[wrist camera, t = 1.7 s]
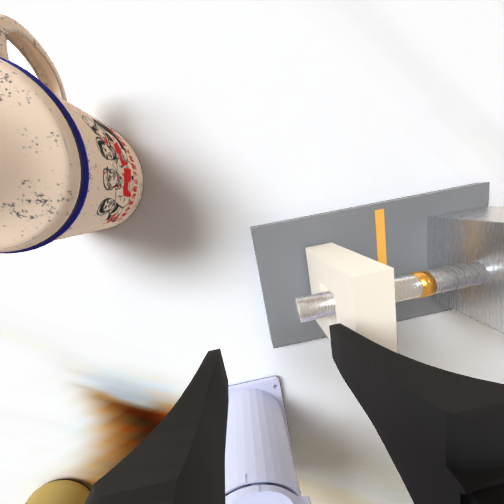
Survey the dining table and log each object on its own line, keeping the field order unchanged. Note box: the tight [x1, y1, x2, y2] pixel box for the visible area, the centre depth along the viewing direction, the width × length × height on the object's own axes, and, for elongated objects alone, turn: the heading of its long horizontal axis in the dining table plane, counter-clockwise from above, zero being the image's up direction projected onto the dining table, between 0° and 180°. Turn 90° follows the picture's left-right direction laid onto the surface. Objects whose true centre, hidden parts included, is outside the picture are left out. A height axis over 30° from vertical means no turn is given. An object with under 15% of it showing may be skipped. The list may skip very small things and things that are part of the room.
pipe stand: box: [294, 206, 504, 333], centre depth 17 cm, size 8×19×10 cm, turn 100°
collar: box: [305, 243, 398, 353], centre depth 17 cm, size 7×2×8 cm, turn 10°
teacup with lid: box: [0, 14, 143, 253], centre depth 13 cm, size 12×9×12 cm
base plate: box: [251, 182, 489, 348], centre depth 22 cm, size 12×22×1 cm, turn 100°
